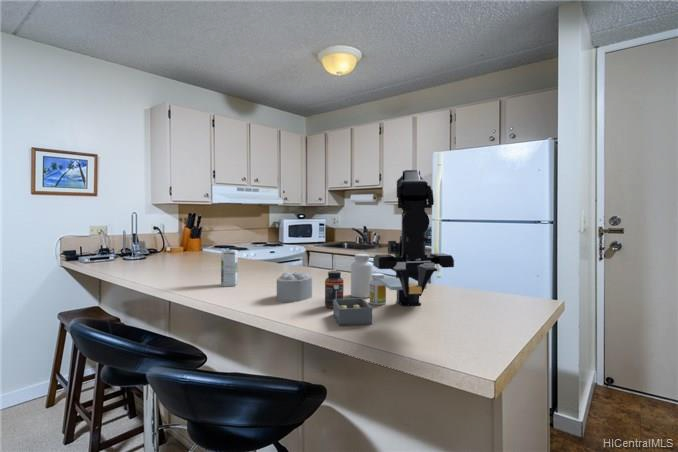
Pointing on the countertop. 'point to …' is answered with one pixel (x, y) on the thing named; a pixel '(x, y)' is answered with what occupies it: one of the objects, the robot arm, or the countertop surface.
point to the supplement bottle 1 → (333, 288)
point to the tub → (352, 312)
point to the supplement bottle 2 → (377, 290)
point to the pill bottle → (361, 276)
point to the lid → (396, 285)
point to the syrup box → (229, 268)
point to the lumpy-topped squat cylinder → (294, 287)
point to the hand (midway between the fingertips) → (412, 296)
